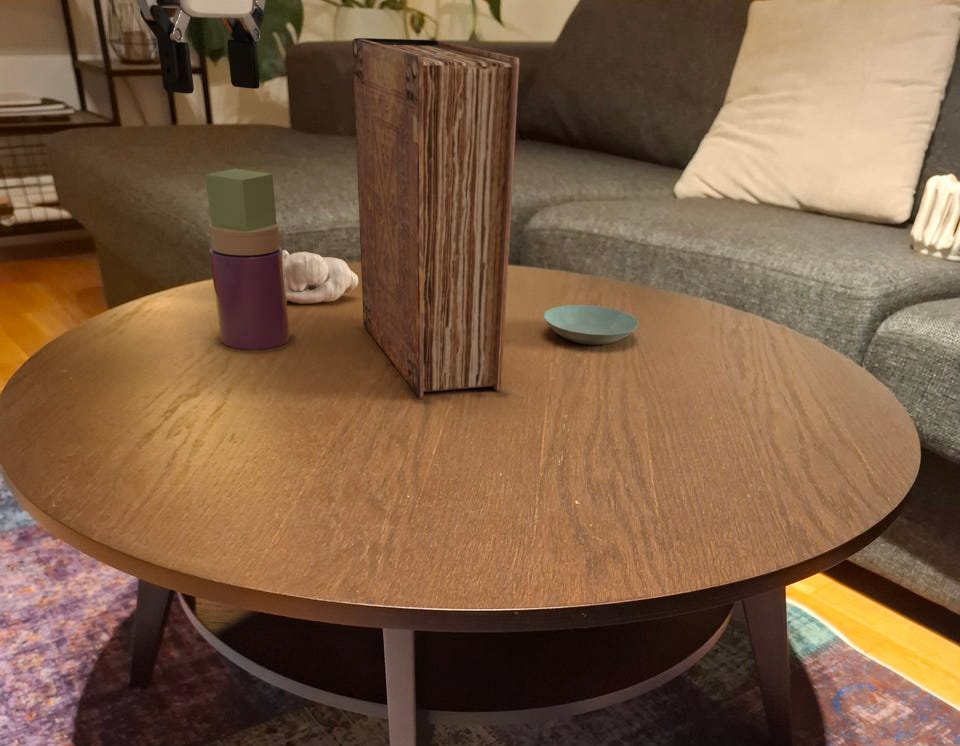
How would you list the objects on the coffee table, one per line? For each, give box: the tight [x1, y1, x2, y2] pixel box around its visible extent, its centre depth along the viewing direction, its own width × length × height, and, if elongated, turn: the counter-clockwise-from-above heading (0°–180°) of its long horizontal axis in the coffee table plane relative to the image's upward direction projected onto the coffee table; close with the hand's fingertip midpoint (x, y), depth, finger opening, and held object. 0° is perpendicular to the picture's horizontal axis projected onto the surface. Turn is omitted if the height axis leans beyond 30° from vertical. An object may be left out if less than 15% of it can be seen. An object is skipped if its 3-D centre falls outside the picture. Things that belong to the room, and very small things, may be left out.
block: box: [205, 168, 277, 231], centre depth 98 cm, size 5×5×5 cm
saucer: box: [543, 304, 640, 346], centre depth 112 cm, size 12×12×2 cm
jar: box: [208, 246, 291, 351], centre depth 103 cm, size 8×8×12 cm
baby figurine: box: [282, 249, 359, 305], centre depth 119 cm, size 9×12×8 cm
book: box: [351, 37, 520, 400], centre depth 95 cm, size 25×9×30 cm, turn 19°
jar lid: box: [208, 221, 281, 256], centre depth 100 cm, size 8×8×2 cm
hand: (213, 89), depth 88 cm, fingers open, 9 cm apart
